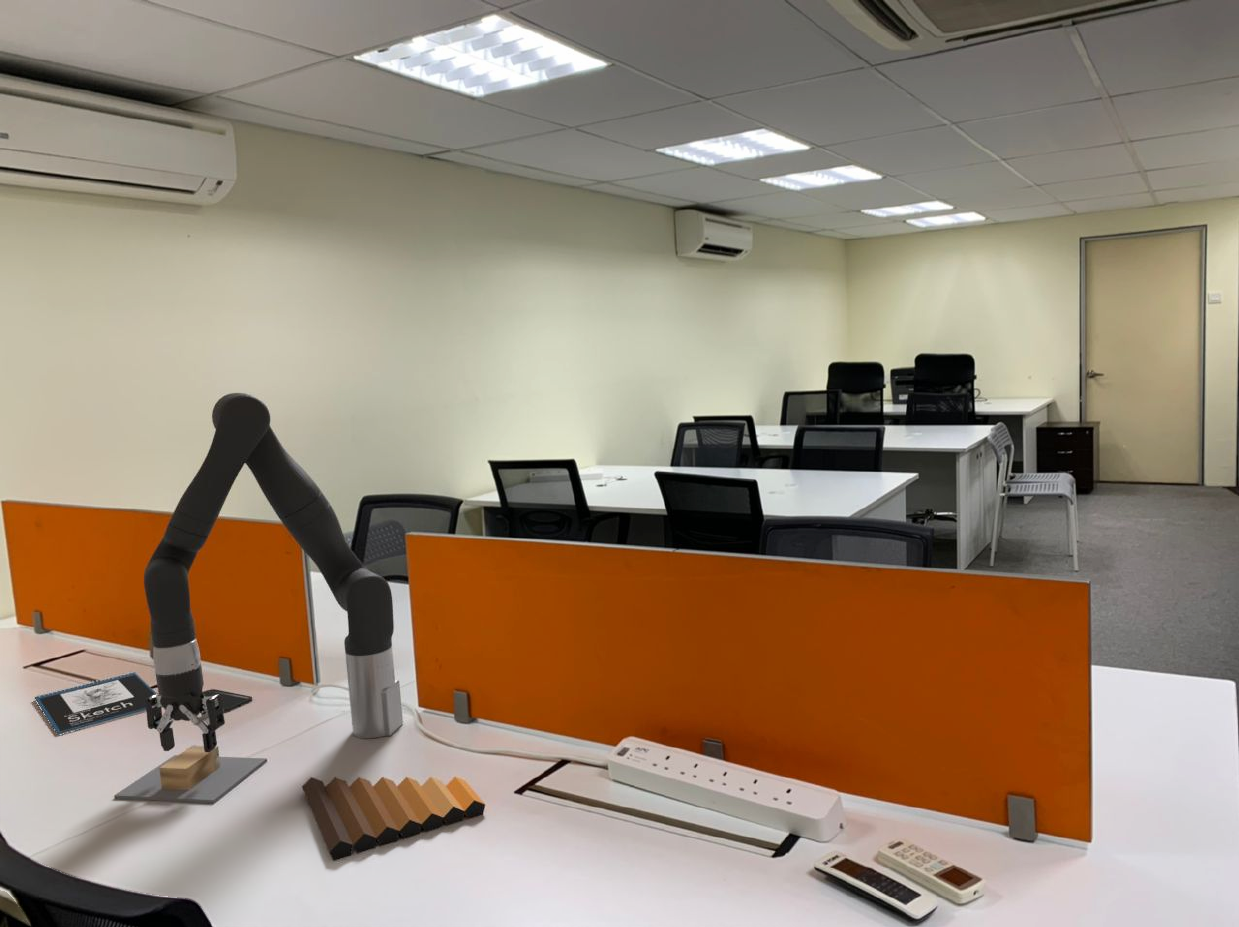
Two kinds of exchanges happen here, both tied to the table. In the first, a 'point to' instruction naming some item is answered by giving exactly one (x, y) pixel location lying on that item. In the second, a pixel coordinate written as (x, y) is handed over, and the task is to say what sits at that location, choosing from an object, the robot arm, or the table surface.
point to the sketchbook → (95, 702)
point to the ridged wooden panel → (385, 810)
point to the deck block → (189, 768)
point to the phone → (229, 699)
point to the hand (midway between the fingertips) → (189, 749)
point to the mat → (203, 792)
